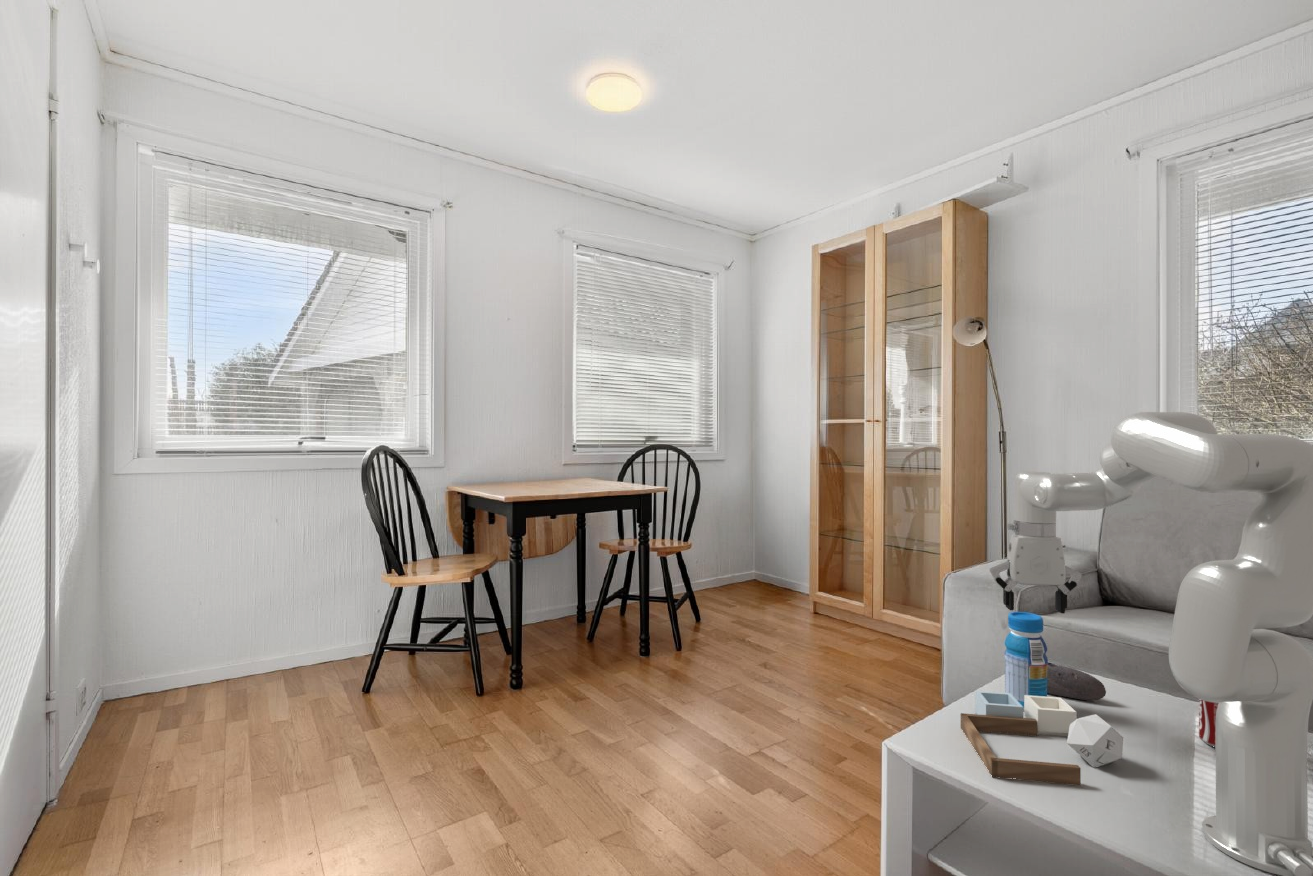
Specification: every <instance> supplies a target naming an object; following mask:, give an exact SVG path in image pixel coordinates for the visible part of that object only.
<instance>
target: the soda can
mask: <svg viewBox="0 0 1313 876" xmlns="http://www.w3.org/2000/svg"><path fill="white" fill-rule="evenodd" d="M1218 704H1219V703H1214V702H1208V701H1203V700H1200V699H1198V736H1199V739H1200V740H1201V741H1202V742H1204V743H1205V744H1206V745H1208V746H1210V747H1212V746H1214V747H1215V732H1216V712H1217V708H1218ZM1214 747H1213V748H1214Z"/></svg>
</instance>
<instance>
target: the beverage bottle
mask: <svg viewBox="0 0 1313 876" xmlns="http://www.w3.org/2000/svg"><path fill="white" fill-rule="evenodd" d="M1007 618H1008V619H1007V623H1008V629H1009V630H1010V632H1009V633H1008V634H1007V635H1006V637H1005V640H1004V646H1005V648H1006V649H1005V650H1004V652H1003V658H1004V674H1005V675H1004V677H1005V679H1004V680H1005V681H1004V683H1005V684H1004V685H1005V686H1004V687H1005V688H1004V689H1005V690H1004V691H1005V692H1004V693H1011V694H1012V695H1013V696H1014V698H1015V699H1016V700H1017V701H1018V702H1019V703H1020V704H1021V705H1022V706H1023V711H1024V695H1030V696H1044V697H1048V693H1047V665H1048V662H1049V658H1048V656H1047V654H1046V653H1047V652H1048V646H1047V643H1046V640H1045V639H1044V638H1043V637H1042V635H1041V634H1043V632H1044V619H1043V617H1042V616H1041V615H1039V614H1036V613H1032V612H1024V611H1012V612H1009V613H1008V616H1007Z"/></svg>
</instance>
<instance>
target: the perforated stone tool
mask: <svg viewBox="0 0 1313 876" xmlns="http://www.w3.org/2000/svg"><path fill="white" fill-rule="evenodd" d="M1106 693H1107V690H1106V686H1105V685H1104V683H1102V681H1100V680H1099V679H1097V678H1096V677H1094V676H1092V675H1090V674H1089V673H1086V672H1084V671H1081V670H1079V669H1076V668H1072V667H1069V666H1065V665H1062V664H1057V663H1053V662H1049V661H1048V665H1047V694H1049V695H1053V696H1054V695H1055V696H1058V697H1065V698H1070V699H1076V700H1081V701H1099V700H1101V699H1104V698H1105V697H1106Z"/></svg>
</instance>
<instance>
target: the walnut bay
mask: <svg viewBox="0 0 1313 876" xmlns="http://www.w3.org/2000/svg"><path fill="white" fill-rule="evenodd" d="M960 729H961V730H963V731H962V732H963V734H964V733H965V734H964V735H966V736H965V737H966V739H967V738H968V739H967V740H968V742H969V741H970V742H971V743H970V742H969V743H970V745H971V744H972V745H971V747H972V746H973V747H974V748H973V747H972V748H973V749H975V750H976V751H975V750H974V751H975V753H976V752H977V753H978V754H977V753H976V754H977V756H978V755H979V756H980V758H981V759H980V758H979V759H980V761H981V760H982V761H983V762H984V764H983V766H984V765H985V766H986V767H987V769H988V770H989V772H988V773H989V775H990V774H991V775H992V777H991V778H994V777H1000V778H999V779H1005V778H1012V779H1011V780H1014V779H1013V778H1016V779H1021V780H1020V781H1026V780H1027V782H1040V783H1050V784H1058V785H1059V784H1060V785H1072V786H1080V787H1081V786H1082V785H1081V784H1082V783H1081V776H1082V774H1081V767H1080V766H1079V765H1078V764H1069V763H1060V762H1059V763H1058V762H1050V761H1049V762H1047V761H1037V760H1036V761H1035V760H1025V759H1013V758H1002V757H996V756H995V754H994V752H993V751H992V749H991V748H990V747H989V745H988V744H987V742H986V741H985V740H984V738H983V737H982V735H981V734H980V732H982V733H983V732H984V733H994V734H996V733H997V734H1005V735H1006V734H1008V735H1019V736H1031V737H1038V733H1037V720H1036V719H1030V718H1024V717H1023V718H1017V717H1003V716H990V715H977V714H975V713H962V712H961V713H960ZM979 756H978V757H979ZM982 761H981V762H982ZM983 762H982V763H983ZM985 766H984V767H985ZM986 767H985V768H986ZM987 769H986V770H987ZM988 770H987V771H988ZM991 775H990V776H991ZM1016 779H1015V780H1016Z"/></svg>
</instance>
